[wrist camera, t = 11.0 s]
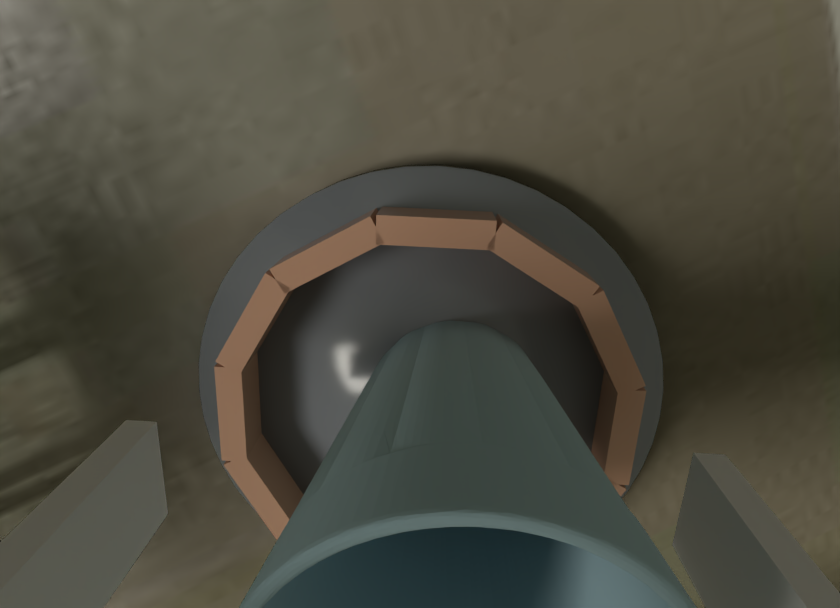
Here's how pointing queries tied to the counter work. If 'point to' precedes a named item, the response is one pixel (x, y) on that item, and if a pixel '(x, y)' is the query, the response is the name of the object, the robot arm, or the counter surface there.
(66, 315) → the counter surface
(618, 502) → the cup
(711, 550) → the robot arm
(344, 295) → the ring dish
